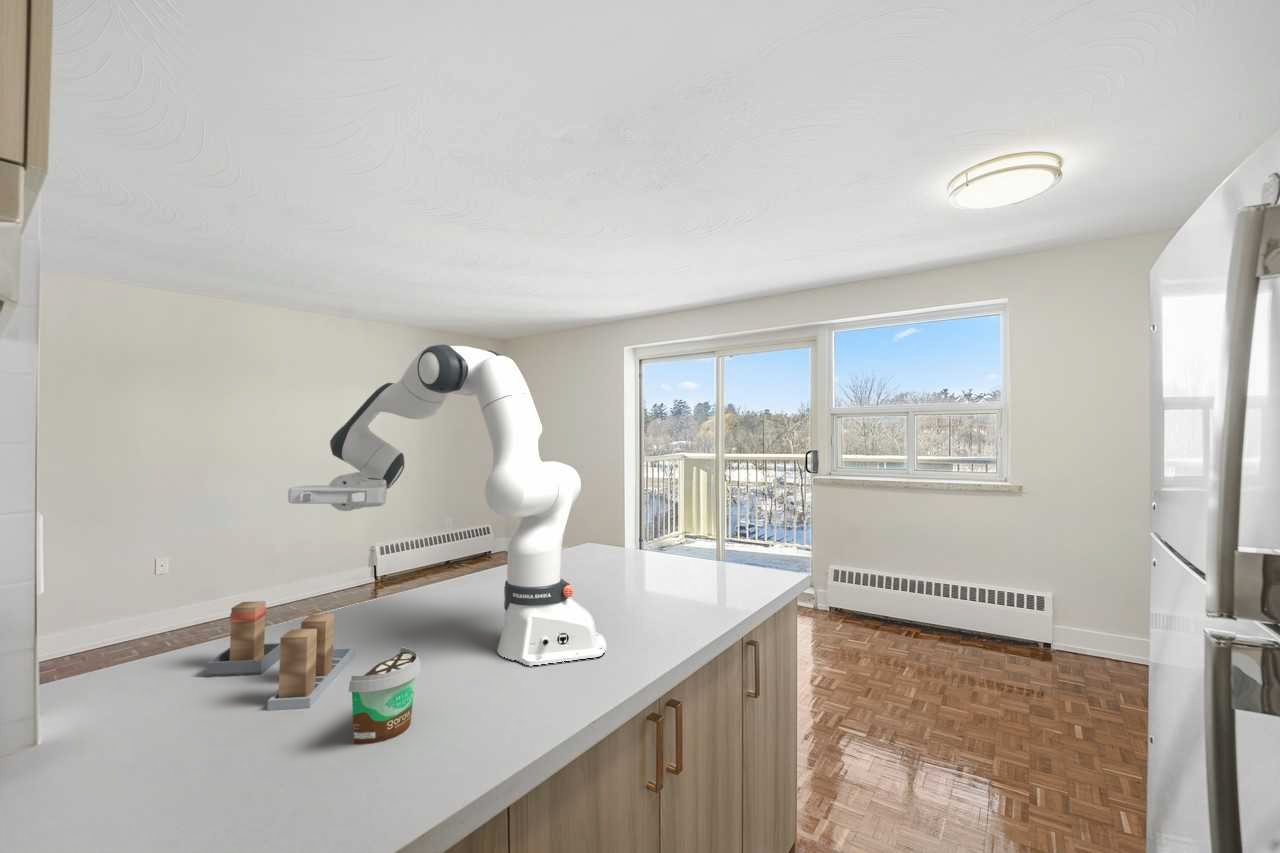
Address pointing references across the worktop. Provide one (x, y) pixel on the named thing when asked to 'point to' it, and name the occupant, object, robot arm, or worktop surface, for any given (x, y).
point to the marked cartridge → (247, 631)
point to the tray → (243, 663)
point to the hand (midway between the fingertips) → (327, 498)
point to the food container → (384, 698)
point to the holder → (320, 684)
